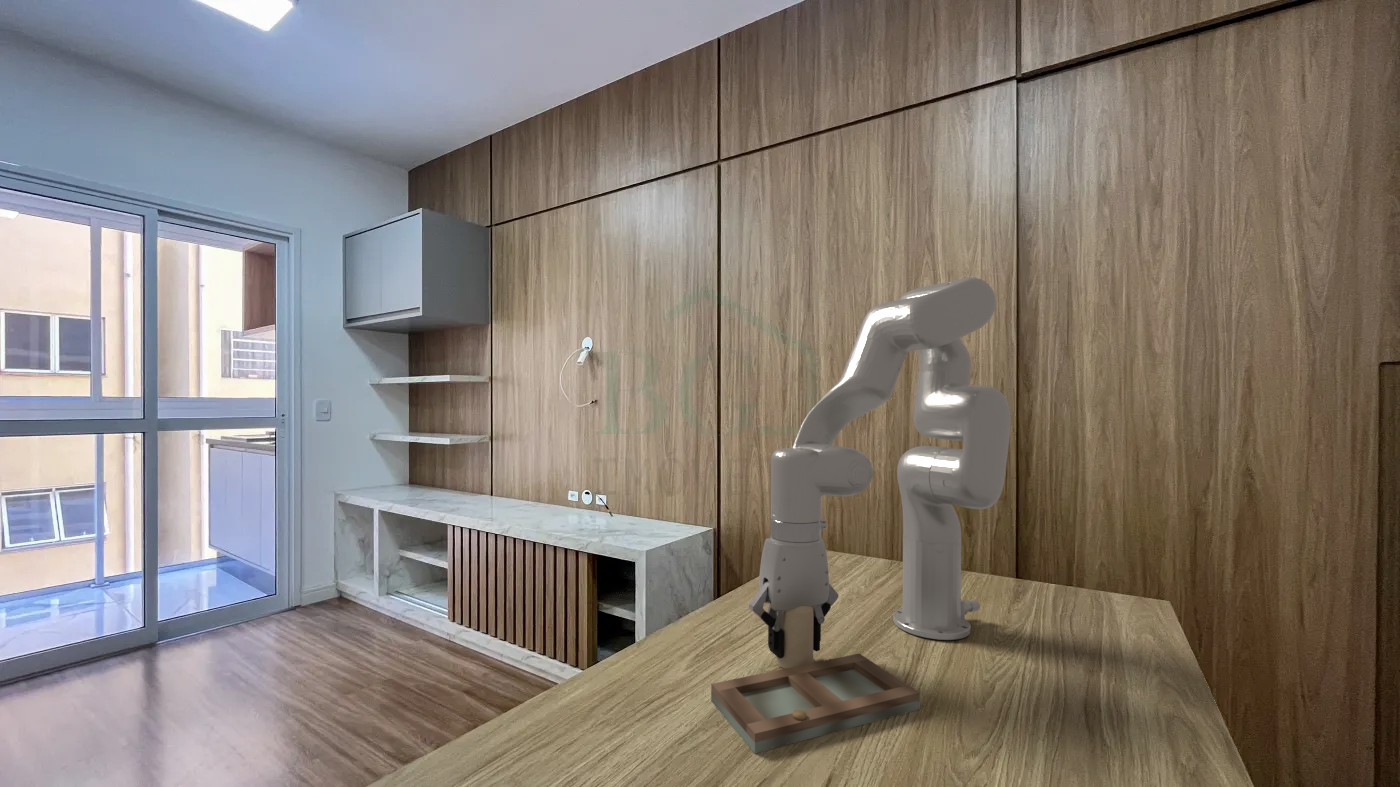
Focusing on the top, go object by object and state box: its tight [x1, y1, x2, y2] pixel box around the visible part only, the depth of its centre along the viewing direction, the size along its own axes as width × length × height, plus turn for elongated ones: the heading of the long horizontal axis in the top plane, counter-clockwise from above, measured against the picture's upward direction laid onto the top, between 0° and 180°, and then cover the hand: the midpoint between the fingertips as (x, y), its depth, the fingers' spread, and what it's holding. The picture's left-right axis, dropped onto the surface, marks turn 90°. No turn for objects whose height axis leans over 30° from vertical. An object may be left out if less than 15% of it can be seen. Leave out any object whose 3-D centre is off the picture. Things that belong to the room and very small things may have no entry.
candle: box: [775, 606, 814, 669], centre depth 85 cm, size 6×6×10 cm
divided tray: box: [710, 653, 921, 754], centre depth 74 cm, size 24×12×3 cm, turn 113°
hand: (794, 649), depth 85 cm, fingers closed on candle, 5 cm apart
